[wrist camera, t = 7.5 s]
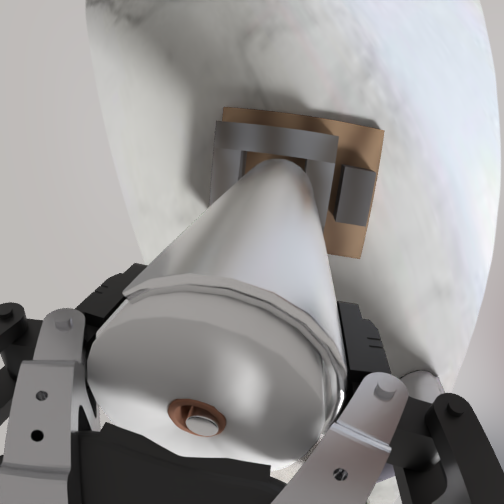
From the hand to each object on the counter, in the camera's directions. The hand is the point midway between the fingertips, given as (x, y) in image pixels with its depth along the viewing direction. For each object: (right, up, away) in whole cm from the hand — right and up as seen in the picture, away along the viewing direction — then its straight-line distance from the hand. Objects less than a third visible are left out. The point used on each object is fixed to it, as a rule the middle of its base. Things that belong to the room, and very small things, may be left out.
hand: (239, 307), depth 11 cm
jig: (+6, +11, +31) cm, 34 cm away
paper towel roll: (+3, +7, +18) cm, 20 cm away
